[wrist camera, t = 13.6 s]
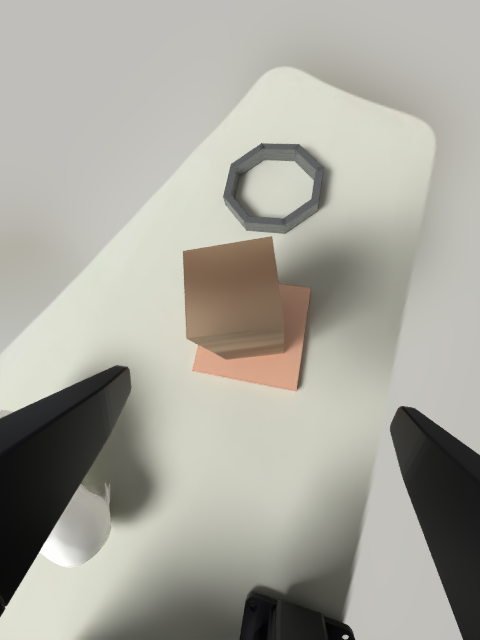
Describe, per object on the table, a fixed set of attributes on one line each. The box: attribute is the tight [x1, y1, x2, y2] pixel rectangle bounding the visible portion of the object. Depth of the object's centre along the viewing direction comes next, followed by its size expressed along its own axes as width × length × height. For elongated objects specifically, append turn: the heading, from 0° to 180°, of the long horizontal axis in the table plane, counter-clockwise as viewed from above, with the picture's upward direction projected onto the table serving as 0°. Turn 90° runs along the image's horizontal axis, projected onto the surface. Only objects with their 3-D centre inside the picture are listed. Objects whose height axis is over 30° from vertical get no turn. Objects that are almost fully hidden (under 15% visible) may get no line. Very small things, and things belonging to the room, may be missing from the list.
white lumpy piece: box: [0, 410, 111, 567], centre depth 17 cm, size 6×8×12 cm
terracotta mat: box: [192, 284, 311, 391], centre depth 21 cm, size 8×8×1 cm
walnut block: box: [183, 236, 285, 360], centre depth 17 cm, size 4×4×9 cm
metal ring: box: [223, 143, 324, 234], centre depth 24 cm, size 8×8×1 cm
